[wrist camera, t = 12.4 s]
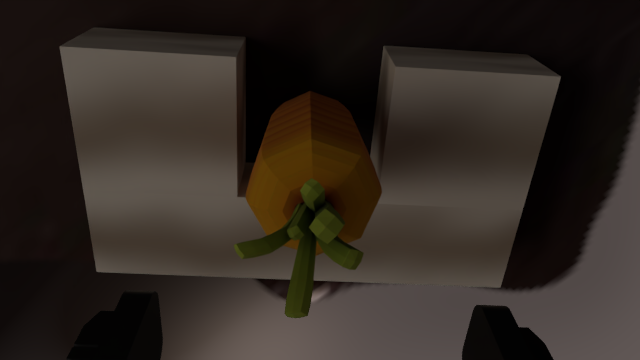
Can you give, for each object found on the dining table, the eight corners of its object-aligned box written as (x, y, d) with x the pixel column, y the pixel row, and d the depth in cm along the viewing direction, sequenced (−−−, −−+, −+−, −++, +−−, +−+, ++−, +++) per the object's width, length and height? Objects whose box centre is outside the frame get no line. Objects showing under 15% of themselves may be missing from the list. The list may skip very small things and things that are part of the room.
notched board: (93, 27, 26) (59, 46, 22) (527, 54, 27) (561, 76, 23) (120, 230, 31) (96, 271, 28) (479, 246, 32) (500, 287, 29)
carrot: (313, 165, 29) (320, 368, 16) (245, 108, 28) (189, 280, 14) (376, 103, 28) (443, 269, 14) (308, 39, 26) (311, 158, 13)
